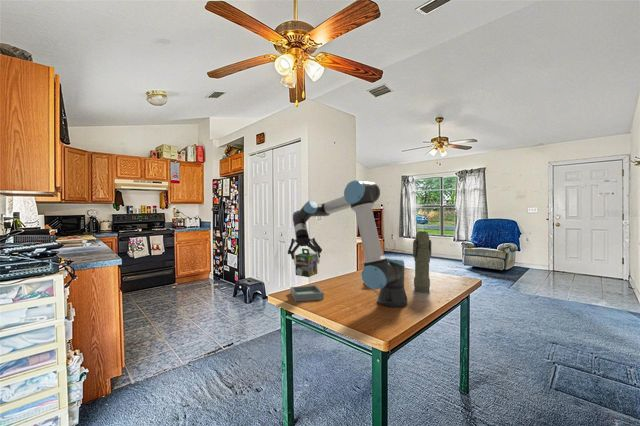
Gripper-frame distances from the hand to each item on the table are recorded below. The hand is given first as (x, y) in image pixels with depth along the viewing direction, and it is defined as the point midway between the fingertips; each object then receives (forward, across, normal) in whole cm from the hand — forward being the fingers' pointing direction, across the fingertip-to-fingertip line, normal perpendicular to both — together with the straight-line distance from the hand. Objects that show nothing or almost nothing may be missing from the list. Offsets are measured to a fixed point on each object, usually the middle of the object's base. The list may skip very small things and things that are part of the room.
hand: (307, 263), depth 160 cm
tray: (+12, 0, -15) cm, 19 cm away
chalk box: (+3, 0, -7) cm, 8 cm away
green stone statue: (+17, -69, -10) cm, 72 cm away
